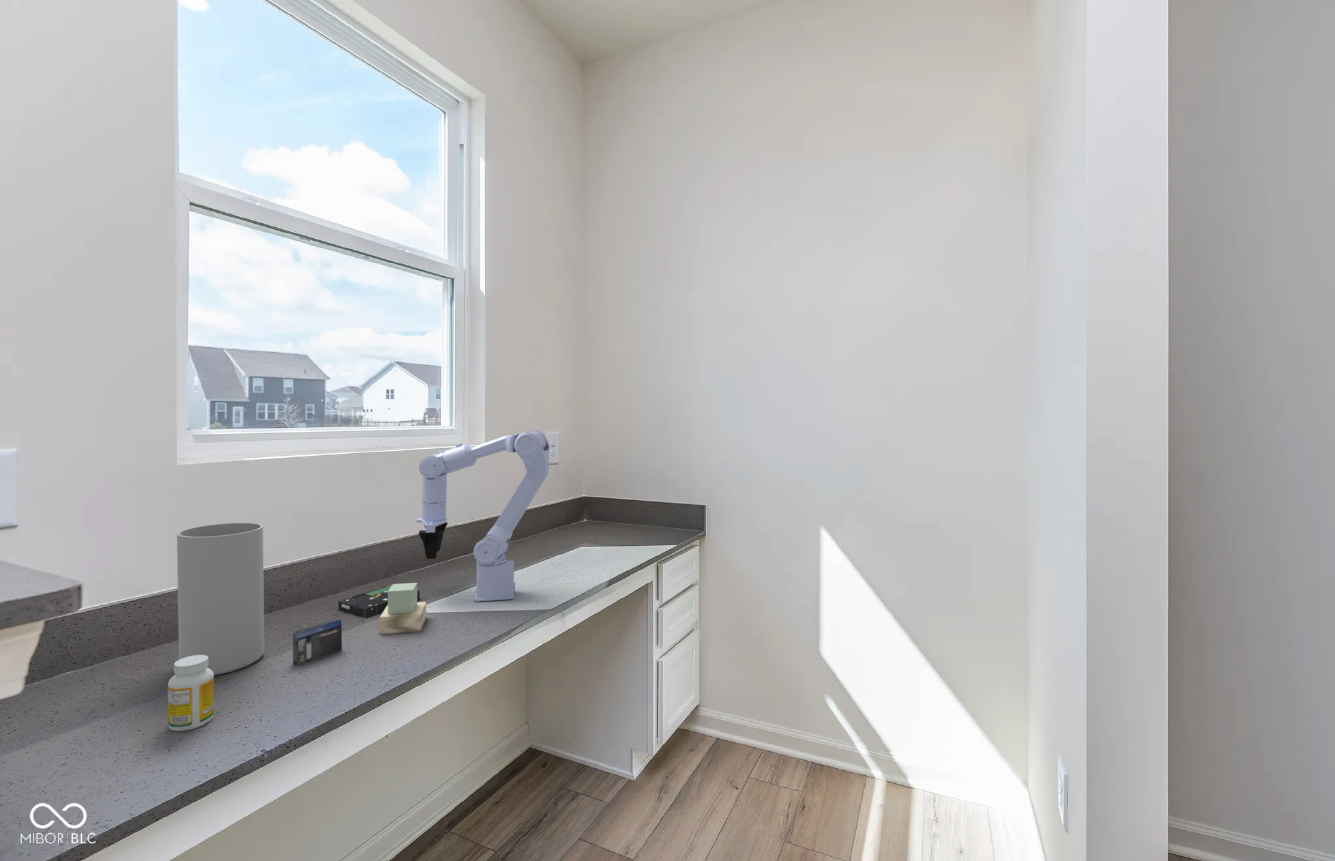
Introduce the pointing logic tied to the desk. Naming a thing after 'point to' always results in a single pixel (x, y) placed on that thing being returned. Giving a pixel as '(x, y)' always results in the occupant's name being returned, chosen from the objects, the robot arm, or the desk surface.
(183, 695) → the supplement bottle
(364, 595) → the disk drive
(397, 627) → the birch block
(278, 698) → the desk surface
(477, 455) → the robot arm
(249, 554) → the cylinder vase
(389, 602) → the sage block
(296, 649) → the mini dv tape
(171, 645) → the desk surface
